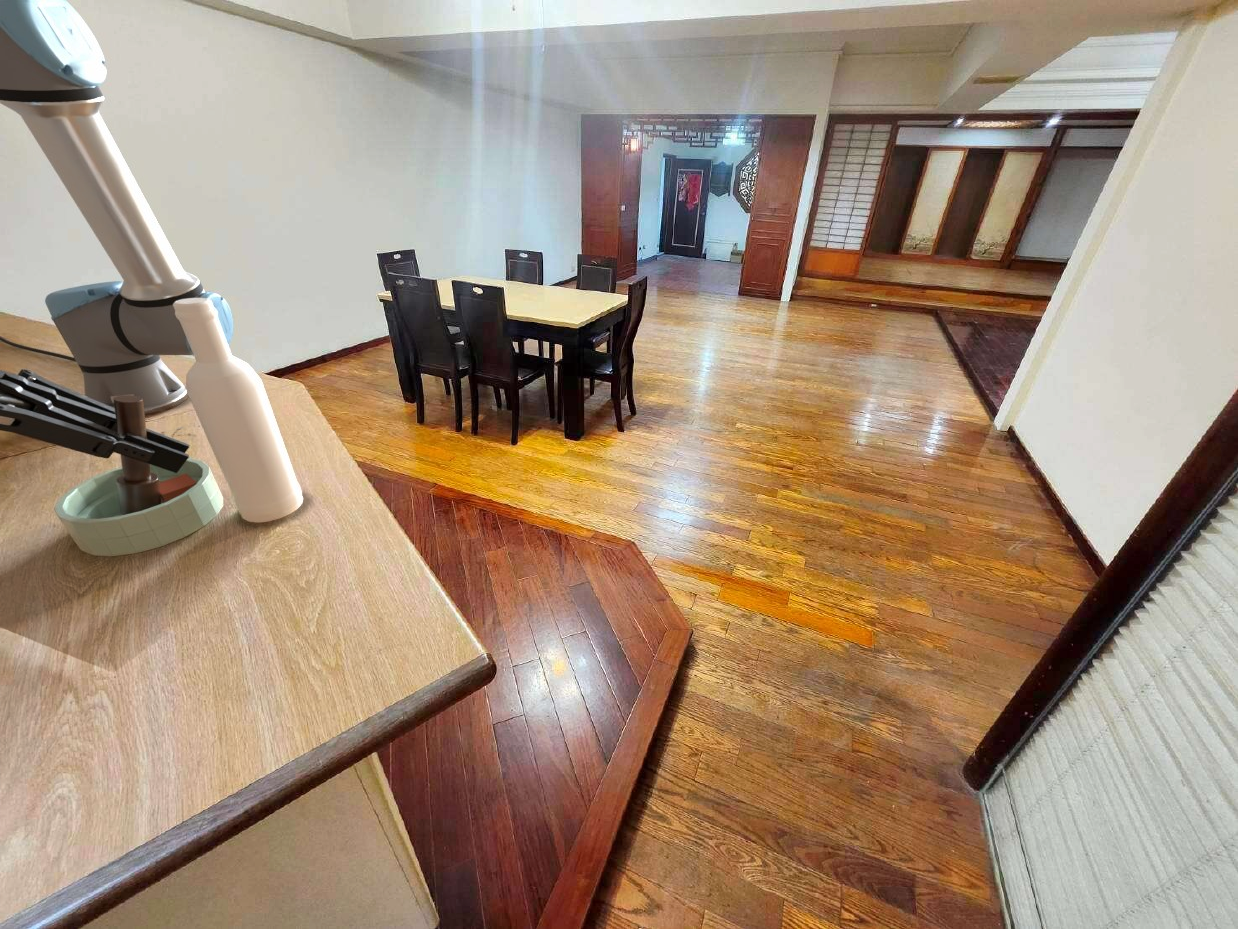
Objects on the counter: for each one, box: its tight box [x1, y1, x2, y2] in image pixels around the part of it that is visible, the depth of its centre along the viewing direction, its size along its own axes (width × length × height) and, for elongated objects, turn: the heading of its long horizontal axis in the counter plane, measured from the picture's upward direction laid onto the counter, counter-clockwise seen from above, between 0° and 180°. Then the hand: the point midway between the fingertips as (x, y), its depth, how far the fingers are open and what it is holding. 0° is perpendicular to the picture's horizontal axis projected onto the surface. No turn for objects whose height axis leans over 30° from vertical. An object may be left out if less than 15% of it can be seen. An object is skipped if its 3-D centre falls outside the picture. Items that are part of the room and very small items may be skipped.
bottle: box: [173, 298, 304, 523], centre depth 65 cm, size 8×8×30 cm
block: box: [159, 474, 197, 503], centre depth 70 cm, size 4×4×4 cm
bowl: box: [53, 457, 224, 557], centre depth 68 cm, size 16×16×6 cm
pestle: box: [113, 395, 161, 515], centre depth 64 cm, size 4×4×16 cm
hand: (182, 458), depth 67 cm, fingers closed on pestle, 3 cm apart
